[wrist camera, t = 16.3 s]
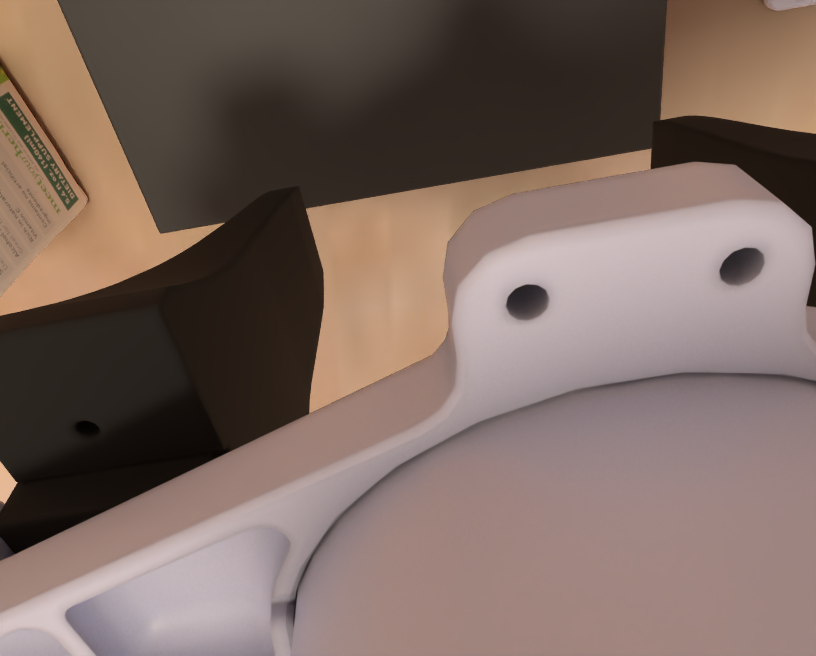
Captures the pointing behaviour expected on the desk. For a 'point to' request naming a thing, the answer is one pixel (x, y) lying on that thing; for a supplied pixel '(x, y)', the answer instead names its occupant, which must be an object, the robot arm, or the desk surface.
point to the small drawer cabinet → (363, 93)
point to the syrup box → (29, 187)
